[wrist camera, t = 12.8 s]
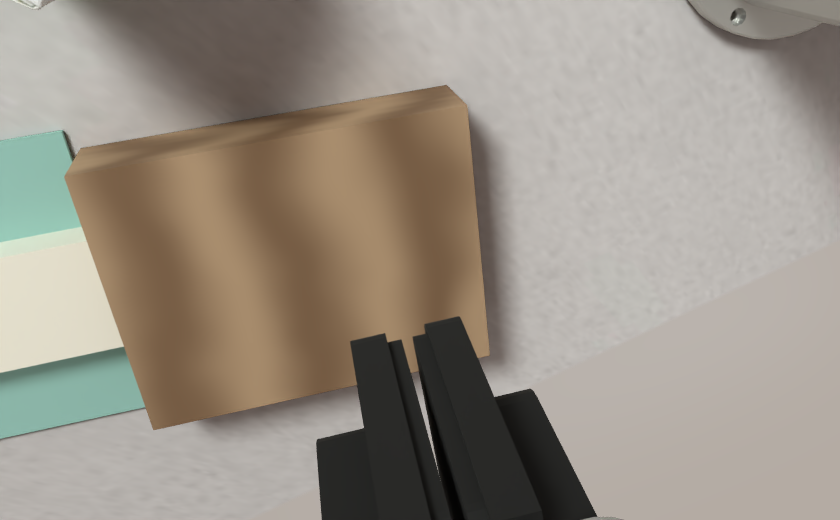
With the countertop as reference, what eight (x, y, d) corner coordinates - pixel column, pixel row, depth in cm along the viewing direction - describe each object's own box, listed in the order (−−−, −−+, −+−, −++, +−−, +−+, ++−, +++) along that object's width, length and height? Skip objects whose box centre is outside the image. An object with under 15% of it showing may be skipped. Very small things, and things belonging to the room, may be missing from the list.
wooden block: (446, 85, 39) (467, 105, 36) (470, 318, 45) (490, 355, 42) (80, 148, 37) (63, 176, 33) (160, 385, 43) (153, 430, 40)
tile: (102, 222, 38) (95, 239, 36) (138, 324, 41) (133, 344, 39) (-90, 259, 37) (-106, 278, 35) (-40, 361, 40) (-53, 384, 38)
